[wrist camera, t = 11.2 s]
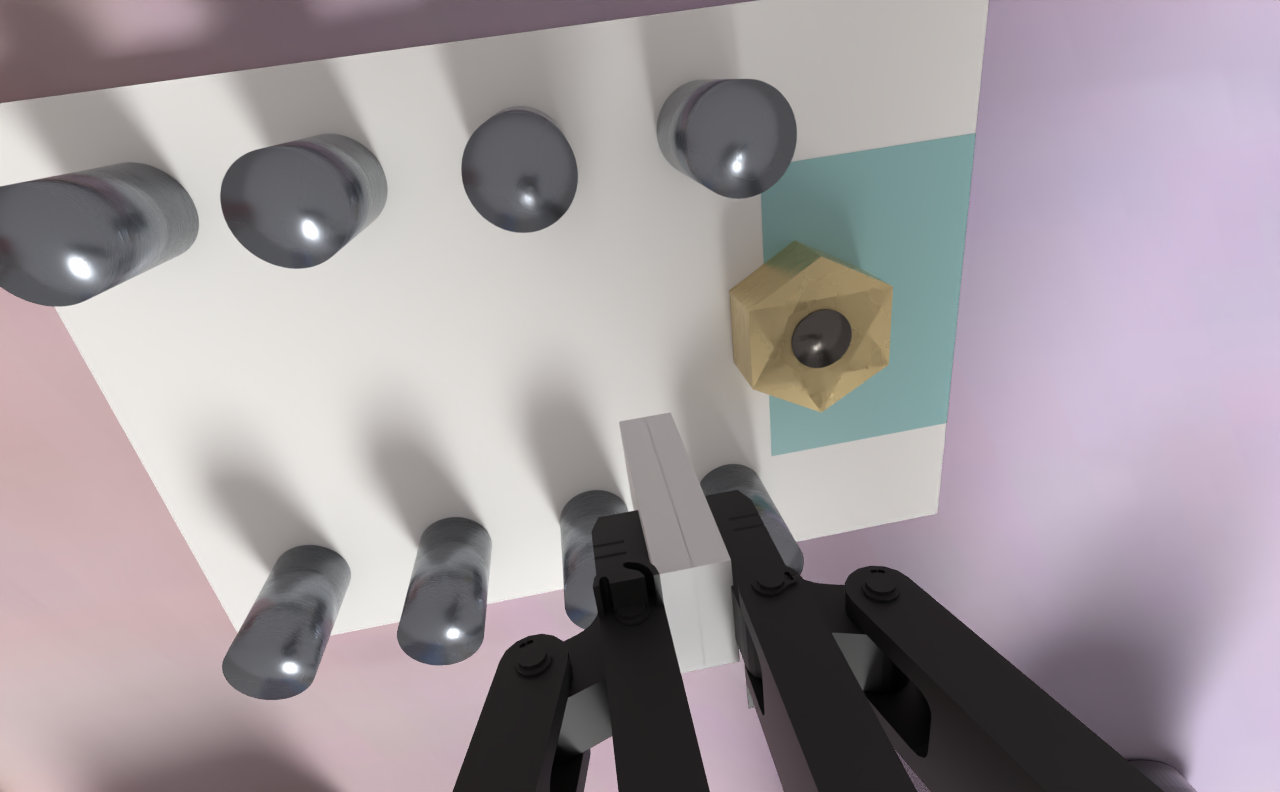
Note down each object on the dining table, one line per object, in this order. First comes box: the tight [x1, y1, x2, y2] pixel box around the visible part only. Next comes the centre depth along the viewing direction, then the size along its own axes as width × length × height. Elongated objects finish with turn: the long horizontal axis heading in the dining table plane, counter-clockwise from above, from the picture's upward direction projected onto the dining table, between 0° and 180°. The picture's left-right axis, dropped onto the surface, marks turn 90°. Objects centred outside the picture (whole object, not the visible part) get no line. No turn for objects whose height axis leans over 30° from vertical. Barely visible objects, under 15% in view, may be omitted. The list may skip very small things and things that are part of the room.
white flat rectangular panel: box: [0, 0, 989, 636], centre depth 25 cm, size 32×22×1 cm
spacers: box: [0, 79, 804, 700], centre depth 22 cm, size 21×18×5 cm
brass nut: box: [729, 240, 893, 412], centre depth 24 cm, size 6×5×3 cm
